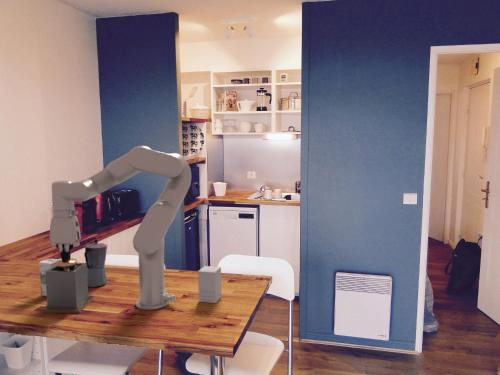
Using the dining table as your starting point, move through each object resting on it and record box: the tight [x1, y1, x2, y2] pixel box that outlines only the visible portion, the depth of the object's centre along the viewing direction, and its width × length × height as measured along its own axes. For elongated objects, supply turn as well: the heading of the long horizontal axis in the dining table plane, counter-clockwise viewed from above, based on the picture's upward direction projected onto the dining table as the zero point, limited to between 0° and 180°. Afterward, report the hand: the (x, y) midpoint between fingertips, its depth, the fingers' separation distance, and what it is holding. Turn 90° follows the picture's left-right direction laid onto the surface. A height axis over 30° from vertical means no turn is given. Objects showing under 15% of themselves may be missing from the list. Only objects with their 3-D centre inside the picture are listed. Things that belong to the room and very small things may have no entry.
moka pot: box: [83, 239, 108, 288], centre depth 185 cm, size 10×15×20 cm, turn 174°
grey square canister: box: [40, 262, 95, 314], centre depth 162 cm, size 14×14×15 cm
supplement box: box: [197, 265, 222, 304], centre depth 168 cm, size 7×7×13 cm
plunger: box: [56, 258, 78, 271], centre depth 162 cm, size 8×8×14 cm
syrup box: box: [38, 258, 59, 298], centre depth 173 cm, size 6×6×14 cm
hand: (66, 261), depth 161 cm, fingers closed
